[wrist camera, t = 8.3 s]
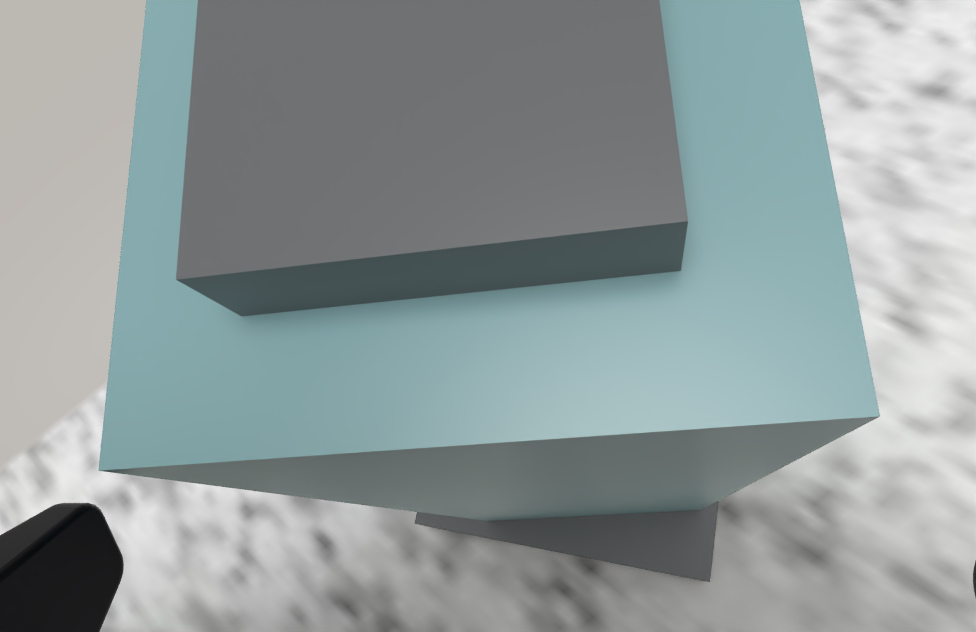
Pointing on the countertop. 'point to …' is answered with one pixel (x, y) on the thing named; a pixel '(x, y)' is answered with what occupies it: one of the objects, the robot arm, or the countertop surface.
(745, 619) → the countertop surface
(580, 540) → the foam pad
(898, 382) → the countertop surface
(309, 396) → the module
